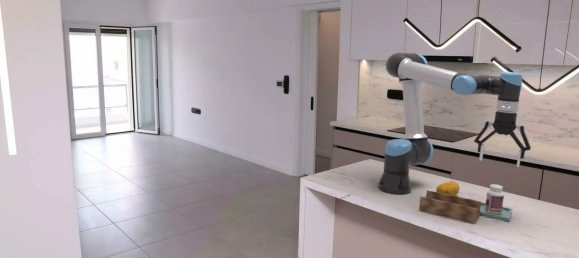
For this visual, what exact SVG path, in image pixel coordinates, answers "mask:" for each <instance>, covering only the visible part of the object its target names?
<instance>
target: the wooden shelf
mask: <svg viewBox="0 0 579 258" xmlns="http://www.w3.org/2000/svg"><path fill="white" fill-rule="evenodd" d="M425 195H426V196H420V197H419V210H418V211H420V212H423V213H427V214H432V215H435V216H440V217H444V218H449V219H453V220H456V221H461V222H465V223H469V224H474V225H476V223H477V221H478V220H479V218H480V216H481V215H480V208H481V202H482V201H480V200H476V199H471V198H466V197H461V196H457V195H456V196H452V195H448V194H443V193H438V192H436V191H433V190H429V189H427V190H426V194H425Z"/></svg>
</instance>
